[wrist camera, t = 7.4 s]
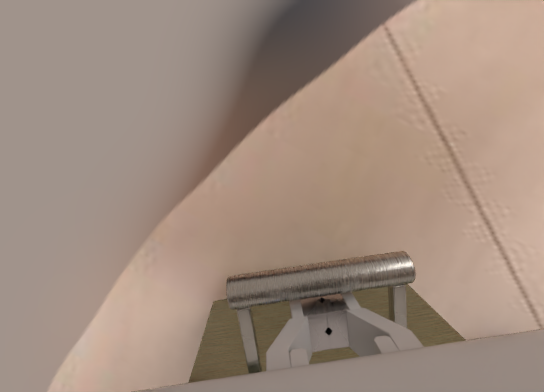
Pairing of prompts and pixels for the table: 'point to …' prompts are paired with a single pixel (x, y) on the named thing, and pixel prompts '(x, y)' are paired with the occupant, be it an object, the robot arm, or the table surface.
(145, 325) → the table surface
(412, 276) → the drawer
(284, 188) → the table surface
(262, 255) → the table surface
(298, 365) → the robot arm
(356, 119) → the table surface
